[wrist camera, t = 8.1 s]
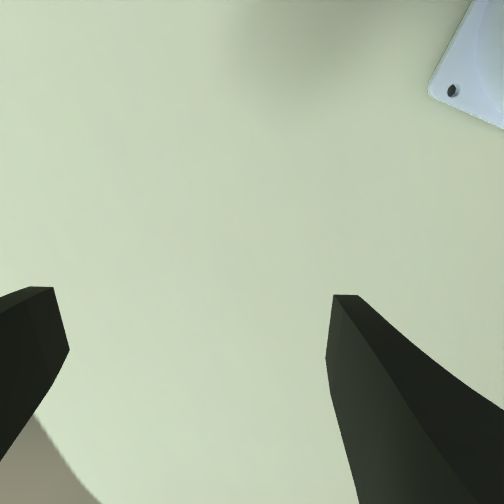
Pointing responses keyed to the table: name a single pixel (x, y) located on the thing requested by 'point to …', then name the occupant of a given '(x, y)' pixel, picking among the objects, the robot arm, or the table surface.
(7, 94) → the table surface
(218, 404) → the table surface
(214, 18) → the table surface
